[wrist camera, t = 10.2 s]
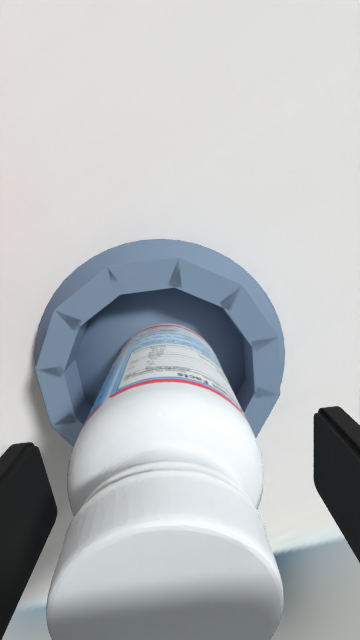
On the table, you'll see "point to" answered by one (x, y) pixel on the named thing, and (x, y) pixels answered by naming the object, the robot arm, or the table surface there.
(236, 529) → the pill bottle
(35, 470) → the robot arm
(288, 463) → the table surface
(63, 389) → the round tray
